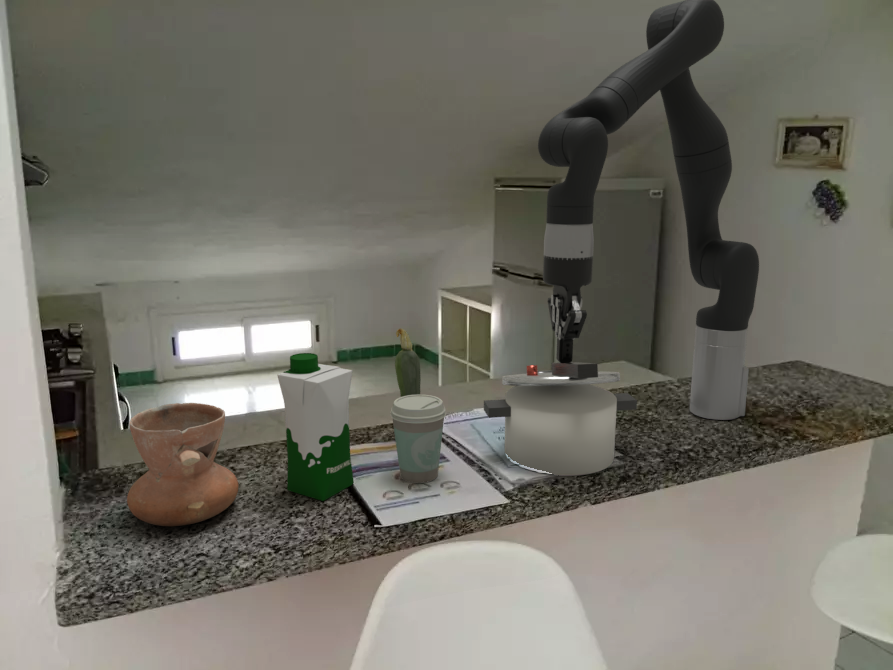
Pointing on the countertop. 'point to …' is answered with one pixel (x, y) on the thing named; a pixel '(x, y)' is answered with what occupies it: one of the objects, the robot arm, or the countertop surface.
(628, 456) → the countertop surface
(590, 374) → the cooker lid
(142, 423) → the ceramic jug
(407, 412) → the coffee cup
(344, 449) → the milk carton
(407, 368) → the vegetable
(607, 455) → the cooker pot
